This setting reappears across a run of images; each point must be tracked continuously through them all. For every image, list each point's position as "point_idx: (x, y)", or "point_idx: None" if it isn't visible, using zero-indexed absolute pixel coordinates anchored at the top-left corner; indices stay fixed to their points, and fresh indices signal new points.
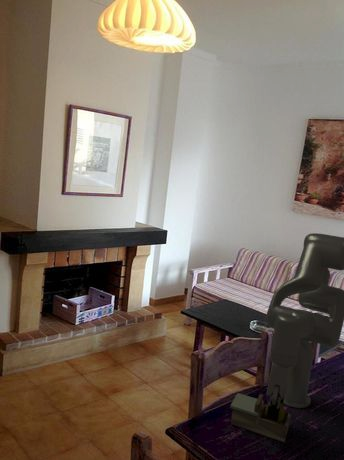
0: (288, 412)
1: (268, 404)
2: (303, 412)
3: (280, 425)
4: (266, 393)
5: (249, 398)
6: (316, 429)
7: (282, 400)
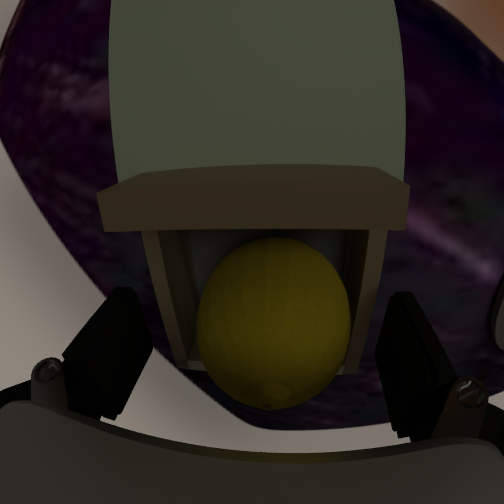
0: (354, 364)
1: (238, 306)
2: (468, 340)
3: (170, 342)
4: (2, 408)
5: (365, 67)
6: (370, 389)
7: (383, 384)
